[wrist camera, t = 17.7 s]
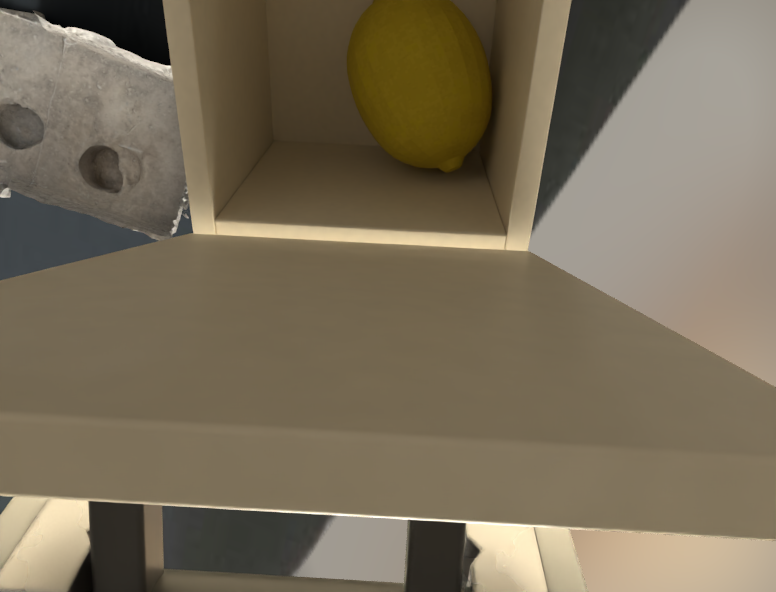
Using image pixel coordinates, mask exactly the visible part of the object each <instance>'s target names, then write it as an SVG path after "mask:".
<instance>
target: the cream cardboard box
mask: <svg viewBox="0 0 776 592" xmlns="http://www.w3.org/2000/svg"><path fill="white" fill-rule="evenodd" d="M162 1H163V8H164V16H165V23H166V31H167V38H168V46H169V53H170V61H171V69H172V76H173V84H174V91H175V99H176V106H177V114H178V121H179V129H180V136H181V144H182V151H183V159H184V167H185V174H186V182H187V189H188V197H189V204H190V212H191V219H192V227H193V234H212V235H231V236H250V237H269V238H288V239H307V240H326V241H345V242H364V243H383V244H402V245H421V246H440V247H459V248H478V249H497V250H516V251H528V247H529V242H530V236H531V230H532V224H533V219H534V213H535V207H536V201H537V195H538V190H539V184H540V178H541V172H542V167H543V161H544V155H545V149H546V144H547V138H548V132H549V126H550V121H551V115H552V109H553V103H554V98H555V92H556V86H557V80H558V74H559V69H560V63H561V57H562V51H563V46H564V40H565V34H566V28H567V23H568V17H569V11H570V5H571V0H450V1H452V2H453V3H454V4H455V5H456V6H457V7H458V8H459V9H460V10H461V11H462V12H463V13H464V14H465V16H466V17H467V18H468V20H469V21H470V22H471V24H472V25H473V27H474V29H475V30H476V32H477V34H478V36H479V38H480V40H481V43H482V45H483V48H484V51H485V54H486V57H487V61H488V65H489V70H490V76H491V83H492V110H491V116H490V120H489V122H488V125H487V128H486V130H485V132H484V134H483V136H482V137H481V139H480V140H479V142H478V143H477V145H476V146H475V147H474V148H473V149H472V150H471V151H470V152H469V153H468V154H467V155H466V156H465V158H464V161H463V164H462V166H461V167H460V168H459V169H457V170H455V171H452V172H449V173H446V172H444V171H442V170H440V169H439V168H419V167H415V166H411V165H409V164H406V163H403V162H401V161H399V160H397V159H396V158H394V157H392V156H391V155H390V154H388V153H387V152H386V151H385V150H384V149H383V148H382V147H381V146H380V145H379V144H378V142H377V141H376V140H375V139H374V137H373V136H372V134H371V133H370V131H369V130H368V128H367V127H366V125H365V123H364V121H363V120H362V118H361V116H360V114H359V111H358V109H357V107H356V104H355V101H354V99H353V95H352V92H351V88H350V84H349V80H348V74H347V50H348V45H349V41H350V38H351V34H352V31H353V29H354V27H355V24H356V23H357V21H358V20H359V18H360V17H361V15H362V14H363V12H364V11H365V10H366V9H367V8H368V7H369V6H370V5H371V4H372V3H373V0H162Z"/></svg>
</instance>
